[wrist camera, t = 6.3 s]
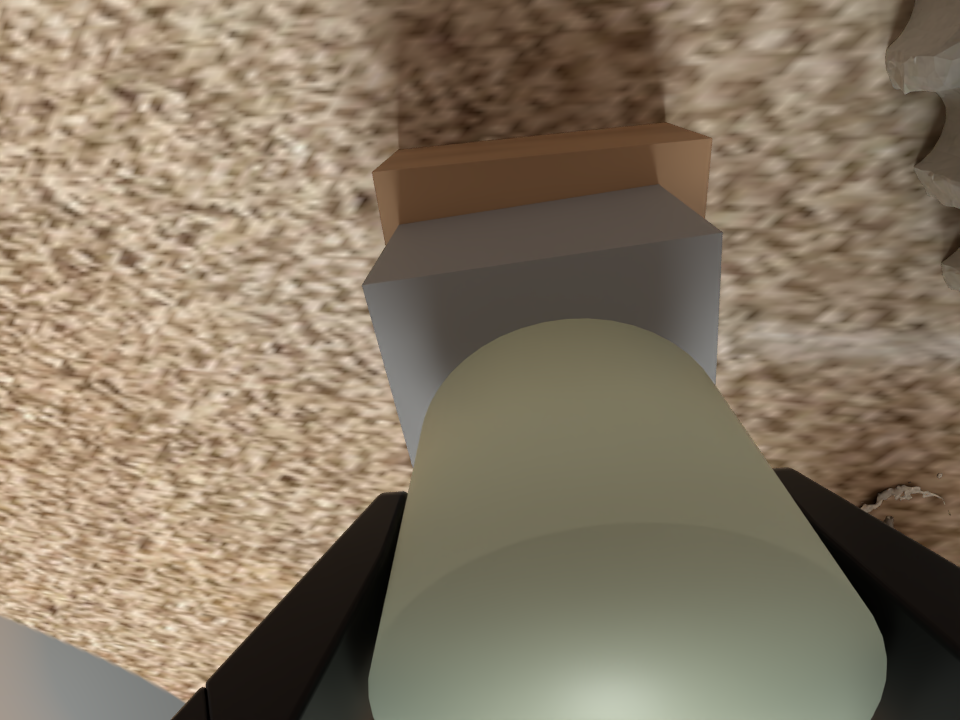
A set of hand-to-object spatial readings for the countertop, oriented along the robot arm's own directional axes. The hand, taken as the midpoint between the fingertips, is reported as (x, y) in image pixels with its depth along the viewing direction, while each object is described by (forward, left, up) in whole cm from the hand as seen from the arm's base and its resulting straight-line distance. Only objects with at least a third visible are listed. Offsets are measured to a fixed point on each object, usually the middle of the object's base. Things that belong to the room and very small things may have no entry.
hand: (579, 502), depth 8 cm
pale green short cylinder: (0, 0, -1) cm, 1 cm away
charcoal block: (0, 0, -7) cm, 7 cm away
